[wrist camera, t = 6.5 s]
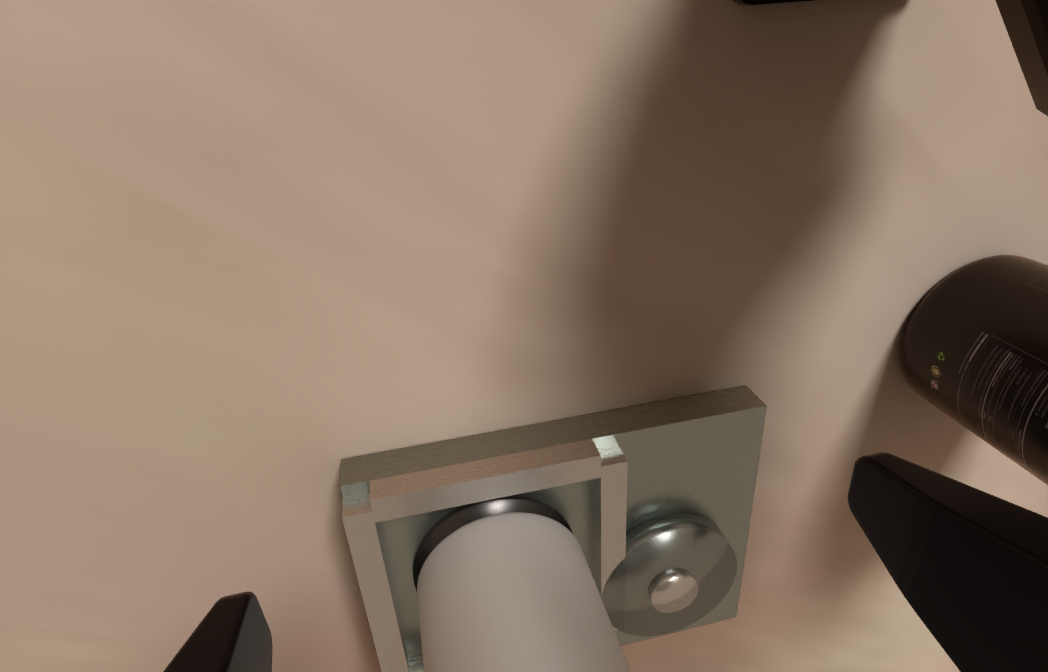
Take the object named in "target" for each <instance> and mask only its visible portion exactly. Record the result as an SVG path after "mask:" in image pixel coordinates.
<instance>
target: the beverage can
mask: <svg viewBox="0 0 1048 672" xmlns="http://www.w3.org/2000/svg"><path fill="white" fill-rule="evenodd" d="M417 597H418V608H419V620H420V631H421V643H422V654H423V666H424V672H630V669H629V667H628V664H627V662H626V659H625V657H624V654H623V652H622V649H621V647H620V644H619V642H618V639H617V637H616V634H615V632H614V629H613V627H612V624H611V621H610V619H609V616H608V614H607V611H606V609H605V606H604V604H603V601H602V599H601V596H600V594H599V591H598V589H597V586H596V584H595V581H594V579H593V576H592V574H591V571H590V569H589V566H588V564H587V561H586V559H585V556H584V554H583V551H582V549H581V546H580V544H579V543H578V541H577V539H576V538H575V536H574V535H573V534H572V533H571V532H570V531H569V530H568V529H567V528H566V527H565V526H563V525H562V524H560V523H559V522H557V521H555V520H553V519H551V518H548V517H545V516H542V515H538V514H533V513H524V512H510V513H500V514H495V515H490V516H487V517H483V518H480V519H477V520H475V521H472V522H470V523H468V524H466V525H464V526H462V527H460V528H459V529H457V530H455V531H454V532H452V533H451V534H450V535H448V536H447V537H446V538H445V539H443V540H442V541H441V542H440V543H439V544H438V545H437V546H436V547H435V548H434V549H433V550H432V552H431V553H430V554H429V556H428V557H427V559H426V561H425V562H424V564H423V566H422V569H421V571H420V574H419V578H418V584H417Z"/></svg>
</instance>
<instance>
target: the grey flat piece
mask: <svg viewBox="0 0 1048 672" xmlns="http://www.w3.org/2000/svg"><path fill="white" fill-rule="evenodd" d="M766 407H767V406H766V405H765V404H764V403H763V402H762V401H761V400H760V399H759V398H758V397H757V396H756V395H755V394H754V393H753V392H752V391H751V390H750V389H749V388H748V387H747V386H742V387H736V388H731V389H725V390H720V391H714V392H709V393H703V394H698V395H692V396H687V397H681V398H676V399H670V400H665V401H659V402H654V403H648V404H643V405H637V406H632V407H626V408H621V409H615V410H610V411H604V412H599V413H593V414H588V415H582V416H577V417H571V418H566V419H560V420H555V421H549V422H544V423H538V424H533V425H527V426H522V427H516V428H511V429H505V430H500V431H494V432H489V433H483V434H478V435H472V436H467V437H461V438H456V439H450V440H445V441H439V442H434V443H428V444H423V445H417V446H412V447H406V448H401V449H395V450H390V451H384V452H379V453H373V454H368V455H362V456H357V457H351V458H346V459H341V473H340V489H341V493H342V497H343V501H342V521H343V525H344V528H345V532H346V536H347V540H348V544H349V548H350V552H351V555H352V559H353V563H354V567H355V571H356V575H357V579H358V582H359V586H360V590H361V594H362V598H363V602H364V606H365V610H366V613H367V617H368V621H369V625H370V629H371V633H372V637H373V640H374V644H375V648H376V652H377V656H378V660H379V664H380V668H381V671H382V672H424V666H423V654H422V643H421V631H420V620H419V608H418V597H417V584H418V578H419V574H420V571H421V569H422V566H423V564H424V562H425V561H426V559H427V557H428V556H429V554H430V553H431V552H432V550H433V549H434V548H435V547H436V546H437V545H438V544H439V543H440V542H441V541H442V540H443V539H445V538H446V537H447V536H448V535H450V534H451V533H452V532H454V531H455V530H457V529H459V528H460V527H462V526H464V525H466V524H468V523H470V522H472V521H475V520H477V519H480V518H483V517H487V516H490V515H495V514H500V513H510V512H524V513H533V514H538V515H542V516H545V517H548V518H551V519H553V520H555V521H557V522H559V523H560V524H562V525H563V526H565V527H566V528H567V529H568V530H569V531H570V532H571V533H572V534H573V535H574V536H575V538H576V539H577V541H578V543H579V544H580V546H581V549H582V551H583V554H584V556H585V559H586V561H587V564H588V566H589V569H590V571H591V574H592V576H593V579H594V581H595V584H596V586H597V589H598V591H599V594H600V596H601V599H602V601H603V604H604V606H605V609H606V611H607V614H608V616H609V619H610V621H611V624H612V627H613V629H614V632H615V634H616V637H617V639H618V642H619V644H620V646H621V645H625V644H629V643H633V642H637V641H641V640H646V639H650V638H654V637H658V636H662V635H666V634H670V633H674V632H678V631H682V630H686V629H690V628H694V627H698V626H702V625H706V624H710V623H714V622H718V621H722V620H726V619H730V618H734V617H736V614H737V608H738V601H739V594H740V587H741V580H742V573H743V566H744V559H745V552H746V545H747V538H748V531H749V525H750V518H751V511H752V504H753V497H754V490H755V483H756V476H757V469H758V462H759V455H760V448H761V441H762V435H763V428H764V421H765V414H766Z"/></svg>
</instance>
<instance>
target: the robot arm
mask: <svg viewBox="0 0 1048 672" xmlns="http://www.w3.org/2000/svg"><path fill="white" fill-rule="evenodd" d="M734 1H735V2H737V3H738V4H741V5H757V4H771V3H785V2H799V1H812V0H734ZM996 3H997V5H998V8H999V11H1000V13H1001V16H1002V19H1003V21H1004V24H1005V27H1006V29H1007V32H1008V35H1009V37H1010V40H1011V42H1012V45H1013V48H1014V50H1015V53H1016V56H1017V58H1018V61H1019V64H1020V66H1021V69H1022V72H1023V74H1024V77H1025V80H1026V82H1027V85H1028V87H1029V90H1030V93H1031V95H1032V98H1033V101H1034V103H1035V106H1036V108H1037V109H1038V110H1039V111H1041V112H1042V113H1044V114H1045V115H1047V116H1048V0H996ZM848 503H849V507H850V509H851V512H852V513H853V515H854V517H855V518H856V520H857V522H858V523H859V525H860V526H861V528H862V530H863V531H864V533H865V534H866V536H867V538H868V539H869V541H870V543H871V544H872V546H873V547H874V549H875V551H876V552H877V554H878V555H879V557H880V559H881V560H882V562H883V563H884V565H885V567H886V568H887V570H888V572H889V573H890V575H891V576H892V578H893V580H894V581H895V583H896V584H897V586H898V587H899V589H900V591H901V592H902V594H903V595H904V597H905V598H906V600H907V601H908V602H909V604H910V605H911V607H912V608H913V609H914V611H915V612H916V613H917V615H918V616H919V617H920V619H921V620H922V621H923V623H924V624H925V625H926V627H927V628H928V629H929V631H930V632H931V633H932V635H933V636H934V637H935V639H936V640H937V641H938V643H939V644H940V645H941V647H942V648H943V649H944V650H945V652H946V653H947V654H948V656H949V657H950V658H951V660H952V661H953V662H954V664H955V665H956V666H957V668H958V669H959V670H960V672H1048V518H1047V517H1045V516H1042V515H1040V514H1037V513H1035V512H1032V511H1030V510H1027V509H1025V508H1022V507H1020V506H1018V505H1015V504H1013V503H1010V502H1008V501H1005V500H1003V499H1000V498H998V497H995V496H993V495H990V494H988V493H985V492H983V491H980V490H978V489H976V488H973V487H971V486H968V485H966V484H963V483H961V482H958V481H956V480H953V479H951V478H948V477H946V476H943V475H941V474H939V473H936V472H934V471H931V470H929V469H926V468H924V467H921V466H919V465H916V464H914V463H911V462H909V461H906V460H904V459H901V458H899V457H897V456H894V455H892V454H889V453H885V452H880V453H875V454H870V455H866V456H862V457H860V458H858V460H857V461H856V462H855V465H854V470H853V475H852V479H851V484H850V488H849V493H848ZM163 672H272V637H271V632H270V629H269V626H268V624H267V622H266V619H265V617H264V614H263V612H262V609H261V607H260V605H259V602H258V600H257V598H256V596H255V595H254V594H253V593H252V592H243V593H239V594H234V595H230V596H225V597H222V598H221V599H219V600H218V601H217V602H216V603H215V604H214V606H213V607H212V608H211V610H210V611H209V612H208V614H207V615H206V616H205V618H204V619H203V620H202V621H201V623H200V624H199V625H198V627H197V628H196V629H195V631H194V632H193V633H192V635H191V636H190V637H189V639H188V640H187V641H186V642H185V644H184V645H183V646H182V648H181V649H180V650H179V652H178V653H177V654H176V656H175V657H174V658H173V660H172V661H171V662H170V664H169V665H168V666H167V667H166V669H165V670H164V671H163Z"/></svg>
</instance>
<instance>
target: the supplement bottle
mask: <svg viewBox="0 0 1048 672" xmlns="http://www.w3.org/2000/svg"><path fill="white" fill-rule="evenodd" d="M900 356H901V366H902V370H903V373H904V376H905V378H906V380H907V382H908V383H909V384H910V386H911V387H912V388H913V389H914V390H915V391H916V392H917V393H918V394H919V395H921V396H922V397H923V398H925V399H926V400H927V401H929V402H930V403H931V404H933V405H934V406H935V407H937V408H938V409H940V410H941V411H942V412H944V413H945V414H947V415H948V416H950V417H951V418H952V419H954V420H955V421H957V422H958V423H960V424H961V425H962V426H964V427H965V428H967V429H968V430H970V431H971V432H972V433H974V434H975V435H977V436H978V437H980V438H981V439H982V440H984V441H985V442H987V443H988V444H990V445H991V446H992V447H994V448H995V449H997V450H998V451H1000V452H1001V453H1002V454H1004V455H1005V456H1007V457H1008V458H1010V459H1011V460H1012V461H1014V462H1015V463H1017V464H1018V465H1020V466H1021V467H1022V468H1024V469H1025V470H1027V471H1028V472H1030V473H1031V474H1032V475H1034V476H1035V477H1037V478H1038V479H1040V480H1041V481H1043V482H1044V483H1045V484H1047V485H1048V265H1045V264H1043V263H1040V262H1037V261H1034V260H1031V259H1028V258H1025V257H1021V256H1015V255H998V256H991V257H987V258H983V259H979V260H977V261H974V262H971V263H969V264H967V265H964V266H963V267H961V268H959V269H957V270H956V271H954V272H952V273H951V274H949V275H948V276H947V277H945V278H944V279H943V280H941V281H940V282H939V283H938V284H937V285H936V286H935V287H934V288H932V289H931V290H930V292H929V293H928V294H927V295H926V296H925V297H924V298H923V300H922V301H921V302H920V303H919V305H918V306H917V308H916V309H915V311H914V313H913V314H912V316H911V318H910V320H909V322H908V324H907V326H906V329H905V332H904V335H903V339H902V343H901V354H900Z"/></svg>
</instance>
